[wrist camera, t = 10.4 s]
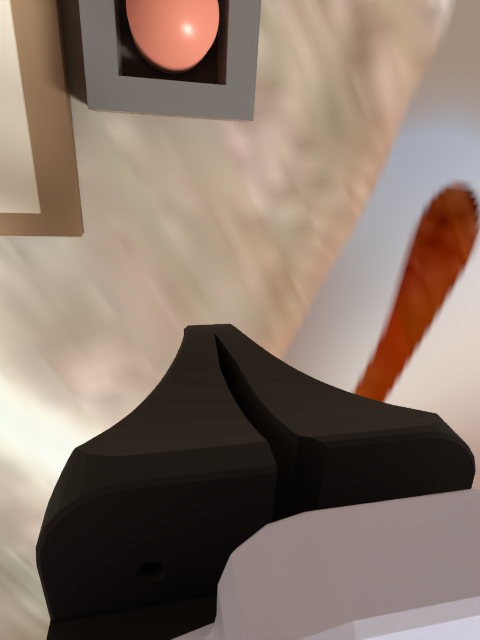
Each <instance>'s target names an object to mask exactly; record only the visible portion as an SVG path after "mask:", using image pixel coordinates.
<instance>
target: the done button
mask: <svg viewBox="0 0 480 640" xmlns="http://www.w3.org/2000/svg"><path fill="white" fill-rule="evenodd" d="M126 10H127V17H128V21H129V25H130V29H131V33H132V37H133V40H134V43H135V45H136V47H137V49H138V51H139V53H140V54H141V56H142V57H143V58H144V59H145V60H146V61H147V63H149V64H150V65H151V66H152V67H154V68H155V69H157V70H159V71H161V72H164V73H168V74H181V73H184V72H187V71H189V70H191V69H193V68H194V67H195V66H196V65H197V64H198V63H199V62H200V61H201V60H202V58H203V57H204V56H205V54H206V53H207V51H208V50H209V48H210V47H211V45H212V43H213V41H214V39H215V37H216V33H217V30H218V24H219V7H218V1H217V0H126Z"/></svg>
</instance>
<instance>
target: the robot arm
mask: <svg viewBox="0 0 480 640" xmlns="http://www.w3.org/2000/svg"><path fill="white" fill-rule="evenodd" d="M474 475H475V459H474V455H473V454H472V452H471V450H470V448H469V446H468V445H467V444H466V443H465V442H464V441H463V440H462V439H461V438H460V437H459V436H458V435H457V434H456V433H455V432H454V431H453V430H452V429H451V428H450V427H449V426H448V425H447V424H446V423H445V422H444V421H443V420H442V418H441V417H439V416H438V415H437V414H436V413H431V412H426V411H421V410H416V409H411V408H406V407H401V406H396V405H391V404H387V403H383V402H380V401H376V400H373V399H369V398H365V397H362V396H359V395H356V394H353V393H350V392H346V391H344V390H342V389H339V388H336V387H334V386H331V385H328V384H326V383H324V382H321V381H319V380H316V379H314V378H312V377H310V376H308V375H306V374H304V373H302V372H300V371H298V370H297V369H295V368H293V367H291V366H289V365H288V364H286V363H284V362H283V361H281V360H280V359H278V358H276V357H275V356H273V355H272V354H270V353H269V352H267V351H266V350H265V349H263V348H262V347H260V346H259V345H258V344H256V343H255V342H254V341H252V340H251V339H250V338H248V337H247V336H246V335H245V334H243V333H242V332H241V331H240V330H238V329H237V328H236V327H234V326H233V325H231V324H214V325H190V326H187V327H186V328H185V329H184V337H183V341H182V343H181V346H180V348H179V351H178V353H177V355H176V357H175V359H174V361H173V362H172V364H171V366H170V367H169V369H168V371H167V372H166V374H165V375H164V377H163V378H162V380H161V381H160V382H159V384H158V385H157V386H156V387H155V389H154V390H153V391H152V392H151V393H150V394H149V395H148V397H147V398H146V399H145V400H144V401H143V402H142V403H141V404H140V405H139V406H138V407H137V408H136V409H135V410H134V411H132V412H131V413H130V414H129V415H127V416H126V417H125V418H123V419H122V420H121V421H119V422H118V423H117V424H115V425H114V426H112V427H111V428H109V429H108V430H106V431H104V432H103V433H101V434H99V435H98V436H96V437H94V438H92V439H91V440H89V441H87V442H86V443H84V444H82V445H80V446H78V447H76V448H75V449H74V450H73V452H72V453H71V455H70V457H69V459H68V461H67V463H66V465H65V467H64V469H63V471H62V473H61V475H60V477H59V479H58V481H57V484H56V486H55V488H54V490H53V493H52V495H51V498H50V500H49V503H48V506H47V509H46V512H45V516H44V519H43V523H42V527H41V530H40V534H39V538H38V541H37V545H36V564H37V569H38V572H39V576H40V580H41V584H42V588H43V592H44V596H45V600H46V604H47V608H48V611H49V615H50V619H51V621H50V626H49V630H48V635H47V640H480V489H471V487H472V483H473V479H474Z"/></svg>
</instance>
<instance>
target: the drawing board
mask: <svg viewBox="0 0 480 640" xmlns="http://www.w3.org/2000/svg"><path fill="white" fill-rule="evenodd" d="M83 233H84V229H83V220H82V210H81V200H80V191H79V181H78V171H77V161H76V152H75V142H74V132H73V123H72V113H71V103H70V94H69V84H68V74H67V65H66V55H65V45H64V35H63V26H62V16H61V6H60V0H0V236H69V237H81V236H82V234H83Z"/></svg>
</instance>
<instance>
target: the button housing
mask: <svg viewBox="0 0 480 640" xmlns="http://www.w3.org/2000/svg"><path fill="white" fill-rule="evenodd" d="M260 9H261V0H220V5H219V37H218V68H217V84H206V83H195V82H184V81H173V80H162V79H150V78H139V77H128V76H123V68H122V49H121V30H120V12H119V0H79V10H80V22H81V33H82V45H83V56H84V67H85V79H86V90H87V102H88V109H91V110H95V111H102V112H116V113H130V114H144V115H158V116H172V117H186V118H200V119H214V120H227V121H253V114H254V99H255V84H256V69H257V54H258V39H259V24H260Z"/></svg>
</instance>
